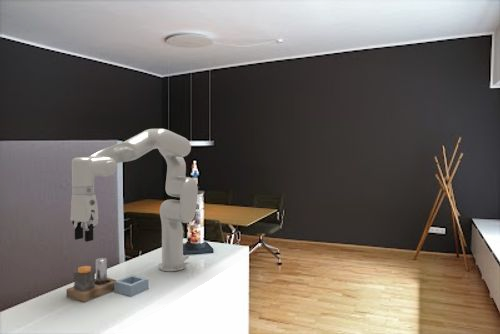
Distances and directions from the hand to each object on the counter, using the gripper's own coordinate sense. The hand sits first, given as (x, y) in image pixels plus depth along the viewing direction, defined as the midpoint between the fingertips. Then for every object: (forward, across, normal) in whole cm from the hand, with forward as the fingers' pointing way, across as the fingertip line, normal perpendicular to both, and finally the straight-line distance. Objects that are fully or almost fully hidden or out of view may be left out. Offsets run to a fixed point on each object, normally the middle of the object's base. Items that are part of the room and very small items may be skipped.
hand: (84, 239), depth 141 cm
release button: (+18, 0, 0) cm, 18 cm away
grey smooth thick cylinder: (+21, 0, -8) cm, 23 cm away
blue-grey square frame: (+21, -10, -13) cm, 27 cm away
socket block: (+21, 0, -4) cm, 22 cm away
